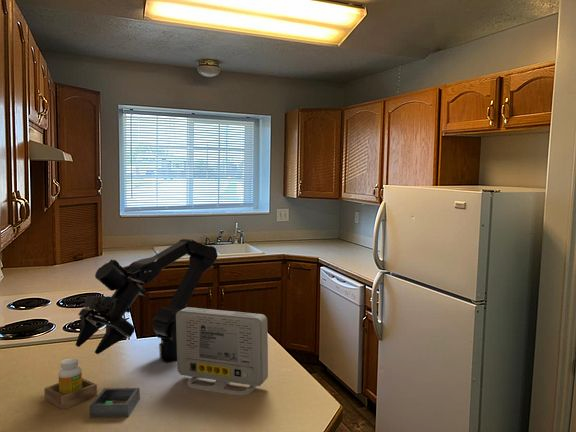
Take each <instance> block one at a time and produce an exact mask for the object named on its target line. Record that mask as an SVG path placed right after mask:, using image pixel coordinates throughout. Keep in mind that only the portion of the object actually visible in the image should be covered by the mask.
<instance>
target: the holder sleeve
mask: <svg viewBox="0 0 576 432" xmlns="http://www.w3.org/2000/svg"><path fill="white" fill-rule="evenodd" d="M97 387H98V385H97V383H94V382H92V381H90V380H88V379H86V378H83V377H82V389H80V390H77V391H74V392H72V393H69V394H67V395H62V394H60V393H59V382H58V383H55V384H52V385H49V386H46V387H43V388H44V390H43V391H44V400H45V401H47V402H49V403H51V404H52V405H55V407H59V408H60V409H62V410H66V409H68V408H70V407H72V406H76V405H78V404H80V403H82V402H84V401H87V400H89V399H92V398H96V397H97V396H98V389H97Z"/></svg>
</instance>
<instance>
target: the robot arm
mask: <svg viewBox="0 0 576 432" xmlns="http://www.w3.org/2000/svg"><path fill="white" fill-rule="evenodd" d="M186 255H187V256H189V259H188V261H189V262H188V263H189V266H188V269H187V271H186V272H185V274H184V276H183V278H182V280H181V282H180V283H179V285H178V286H177V288H176V291H175V293H174V295H173V296H172V298H171V300H170V302H169V303H168V305H167V306H165V308H164V307H159V308H158V310H157V313H156V314H155V316H154V317H153V318H152V320H153V321H152V325H151V326H152V329H153V332H154V334H155V335H156V338H159V339H160V343H159V344H158V346H159V347H158V348H159V357H160V359H162V361H163V362H164V363H168V362H169V363H170V362H174V361H177V337H176V314H177V312H178V311H180V310H182V309H184V308H187V306H188V305H187V304H188V303H189V301H190V299H191V297H192V295H193V293H194V291H195V290H196V287H197V285H198V283H199V282H200V280H201V278H202V276H203V274H204V273H205V272H206V271H208V270H209V269H211V268H212V266H213V265H214V264H215V262H216V261H217V259H218V255H219V254H218V251H217V249H216V247H215V246H213V245H206V244H204V243H203V244H202V243H200V242H198V241H196V240H194V239H189V238H181V239H180V240H179V241H178V242H176V243H174V244H173V245H171V246H169V247H167V248H166V249H163V250H162V251H159V253H157V254H155V255H153V256H149V257H146V258H142V259H138V260H135V261H133V262H131V263H130V264H129V265H128V266H126V267H123V266H121V264H120V263H119V261H117V260H116V259H110V260H109V262H107V263H104V264H103V265H102V266H101V267H99V268H98V269H97V270H96V272H95V276H94V277H95V279H96V280H98V281H99V283H101V284H102V285H103V286H105V288H107V289H108V290H110V291H112V292H113V291H114V293H112V295H111V296H110V295H108V296H105V295H102V296H101V297H96V296H93V295H91V296H90V295H87V296H86V298H85V301H84V304H83V308H82V309H81V310H80V311H79V312H78V316H79V320H80V322H81V326H80V330H79V334H78V336H77V339H76V342H75V346H76V347H78V348H80V347H81V346H82V345H83V344H84V343H86V342H87V341H88V340H89V339H90V338H92V336H93V335H94V334H96V333H97V332H98V331H99V330H100V328H99V327H101V326H102V325H105V334H104V335H103V336H102V338H101V340H100V342H99V343H98V345H97V346H96V349H95V350H94V353H95V354H96V355H100V354H101V353H103V352H104V351H105V350H107V349H109V348H110V347H112V346H113V345H115V344H117V343H119V342H121V341H122V340H126V339H127V337H128V338H131V337H132V336H133V335H134V332H135V325H133V324H131V323H130V322H129V321H128V320H127V319H126V318H124V316H125V314H126V313H127V314H128V313H130V312H131V311H132V309H131V308H130V307H131V305H132V304H133V303H134V301H135V300H136V299H137V297H138V296H143V297H145V296H147V293H146V286H145V285H140V284H138V283H144V284H149V283H152V281H154V280H155V279H156V278H157V277H158V276H159V275H160V273H161V271H162V270H164V268H167V267H168V266H170V265H171V264H173V263H174V262H176V261H178V260H179V259H181V258H183V257H184V256H186Z"/></svg>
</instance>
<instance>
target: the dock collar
mask: <svg viewBox="0 0 576 432" xmlns="http://www.w3.org/2000/svg"><path fill="white" fill-rule="evenodd" d="M140 392H141V389H140V387H106V388H105V387H104V388H103V389H102V390H101V391H100V392H99V393H98V394H97V396H95V397H94V399H93V400H92V402H91V403H90V404H89V418H93V419H94V418H129V417H130V415H131V414H132V412H133V411H134V410H135V408H136V406H137V404H138V403H139V401H140V400H141V395H140V394H141V393H140ZM115 402H117V403H115ZM118 402H119V403H118ZM121 402H122V403H121ZM124 402H125V403H124Z"/></svg>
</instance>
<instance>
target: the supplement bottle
mask: <svg viewBox="0 0 576 432" xmlns="http://www.w3.org/2000/svg"><path fill="white" fill-rule="evenodd" d="M60 368H61V369H60V370H59V371H58V383H59V393H60V394H62V395H67V394H69V393H72V392H74V391H77V390H80V389H82V378H83V376H82V375H83V373H82V372H83V371H82V368H81V367H80V366H79V359H78V358H76V357H73V358H71V357H70V358H66V359H63V360H61V362H60Z"/></svg>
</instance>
